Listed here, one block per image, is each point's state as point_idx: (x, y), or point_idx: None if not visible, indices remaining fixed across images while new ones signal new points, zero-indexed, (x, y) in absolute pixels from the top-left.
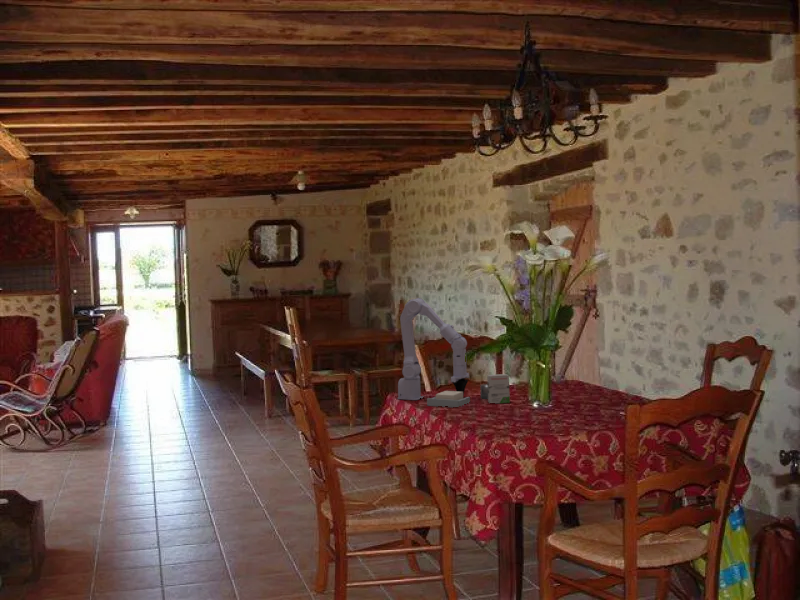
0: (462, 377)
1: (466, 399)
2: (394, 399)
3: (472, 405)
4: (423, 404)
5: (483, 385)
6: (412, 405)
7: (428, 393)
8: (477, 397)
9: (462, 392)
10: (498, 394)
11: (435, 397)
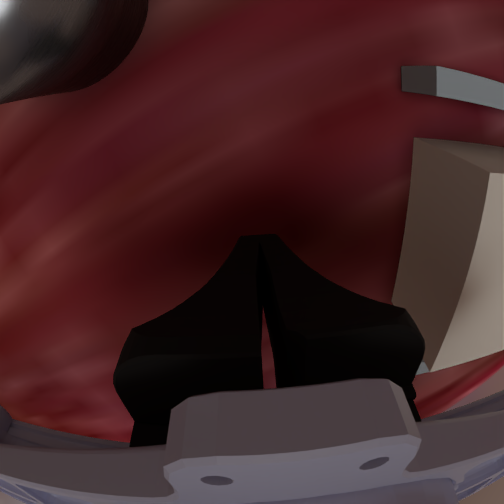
0: (476, 428)
1: (501, 84)
2: None
3: (492, 18)
4: None
5: (16, 6)
6: (498, 367)
7: None
8: (57, 156)
9: (497, 170)
10: None
11: None
